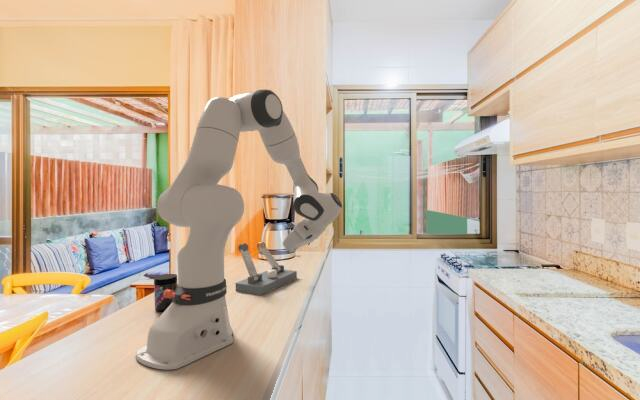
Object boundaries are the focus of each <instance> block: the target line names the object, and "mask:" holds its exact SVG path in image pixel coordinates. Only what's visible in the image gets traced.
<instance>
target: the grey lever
mask: <svg viewBox="0 0 640 400" xmlns="http://www.w3.org/2000/svg"><path fill="white" fill-rule="evenodd" d="M237 248H238V251H239V252H240V254H241V256H242V260H243V262H244V264H245V266H246V267H245V268H246V270H247V272H248V275H249V276H248V277H254V282H256V281H258V280H260V277H259V275H258V274H259V273H258V271H257V269H256V266H255V264H254V261H253V259H252V256H251V254H250V251H249V245H248V244H247V243H246V242H245V243H241V244H239V245H238V247H237Z"/></svg>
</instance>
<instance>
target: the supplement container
mask: <svg viewBox="0 0 640 400" xmlns="http://www.w3.org/2000/svg"><path fill="white" fill-rule="evenodd" d="M177 284H178V274H176V273H165V274H159V275H157V276H155V277H153V288H154V290H153V291H154V310H155V311H156V312H158V313H163V312H164V311H165V310H166V309H167V308H168V307H169V305H170V304H171V303H172V302H173V301H172V299H173V298H171V299H169V298H165V297H163V296H164V295H163V294H164V293H163V292H164V291H165V290H166V289H169V290H173V291H174V292H175V289H176V286H177Z"/></svg>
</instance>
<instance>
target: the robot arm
mask: <svg viewBox="0 0 640 400" xmlns="http://www.w3.org/2000/svg"><path fill="white" fill-rule="evenodd" d="M254 131H258V133H259V135H260V138H261V141H262V143H263V145H264V147H265V150H266V152H267V154H268V155H269V157H270V158H271V159H272V160H273V161H274V163H277V164H282V165H284V166H285V167H286V169H287V172H288V173H289V176H290V178H291V179H292V182H293V187H292V190H293V200H292V202H293V203H292V206H293V210H294V212H295V213H296V214H297V215H299V216H300V217H301V218H303V220H301V221H299V222H298V223H296V224H294V225H293V229H292V230H291V232H289V233H288V235H287V236H286V237H285V239H284V240H283V241H282V246H283V247H284V248H285V250H286V251H288V253H290V254H292V253H294V252H296V250H298V249H299V248H301V247H303V246H305V245H308V244H312V243H313V242H314V241H315V240H317V239H318V238H319V237H320V236H321V235H322V234H323V233H324V232H325V231H326V229H327V227H329V225H331V224H332V223H333V222H334V221H335V220H336V219H337V217H338V216H339V215H340V213H341V212H342V210H343V204H342V201H341V200H340V199H339V197H338V196H337V195H336V194H334V193H333V192H329V193H328V192H327V193H325V192H324V193H322V192H319V186H318V184H317V182H316V181H315V180H314V179H313V178H312V177H311V176H310V175H309V174H308V172H307V170H306V168H305V165H304V163H303V159H302V158H301V151H300V146H299V145H300V144H299V142H298V137H297V136H296V132H295V131H294V128H293V125H292V124H291V122H290V120H289V118H288V115H286V113H285V112H284V109H283V104H282V101H281V100H280V97H279V96H278V95H277V94H276V93H275V92H274V91H272V89H271V90H270V89H258V90H256V91H248V92H242V93H239V94H236V95H233V96H232V97H228V98H227V97H223V96H217V97H213V98H211V99H210V100H208V101H207V103H206V105H205V107H204V108H203V111H202V113H201V115H200V118H199V120H198V123H197V127H196V130H195V134H194V135H193V141H192V144H191V147H190V150H189V153H188V156H187V158H186V161H185V163H184V164H183V167H182V168H181V170H180V171H179V173H178V174H177V176H176V177H175V179H174V180H173V181H172V183H171V185H169V187H168V188H167V189H166V190H164V191H163V192H162V193H160V195H159V197H158V199H157V201H156V202H157V203H156V209H157V210H156V211H157V213H158V215H159V217H160V218H161V219H162V220H163V221H165V222H166V223H168V224H171V225H173V226H175V227H180V228H189V234H188V237H187V241H186V243H185V245H184V246H183V247H182V248H181V249H180V250H179V251H178V254H177V286H176V289H175V292H174V291H173V290H169V289H166V290H165V291H164V292H163V293H164V294H163V295H164V296H163V297H165V298H169V299H171V298H173V299H172V301H173V302H172V303H171V304H170V305H169V307H168V308H167V309H166V310H165V311H164V312H161V315H159V317H158V318H157V319H156V320H155V321H154V322H153V323H152V324H151V326H150V327H149V330H148V333H147V339H146V340H147V341H146V344H145V345H144V346H142V347H140V348H138V349H137V350H136V352H135V353H136V354H135V359H136V360H137V362H139V363H140V364H142V365H144V366H146V367H150V368H153V369H156V370H164V371H165V370H166V371H167V370H169V371H170V370H177V369H180V368H182V367H184V366H186V365H188V364H190V363H193V362H194V361H198V360H199V359H202V358H204V357H205V356H207V355H210V354H212V353H214V352H216V351H218V350H221V349H223V348H225V347H227V346H229V345H232V343H234V339H233V336H232V334H233V329H232V327H231V322H230V318H229V312H228V306H227V299H226V294H227V288H228V287H227V280H226V278H225V251H226V250H225V249H226V244H227V240H228V238H229V235H230V234H231V231H232V230H233V229H234V227H235V226H236V225H237V224H238V223H239V222H240V221H241V220H242V218H243V215H244V212H245V200H244V198H243V195H242V194H241V192H240V191H238V190H237V189H236V188H233V187H230V186H227V185H224V184H219V182H221V180H222V179H223V178H224V177H225V176H226V175H228V174H229V173H230V171H231V170H232V168H233V165H234V161H235V156H236V153H237V149H238V143H239V139H240V134H241V133H244V132H254Z"/></svg>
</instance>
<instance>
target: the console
mask: <svg viewBox="0 0 640 400" xmlns="http://www.w3.org/2000/svg"><path fill="white" fill-rule="evenodd" d="M279 266H281V267H282V271H280V272H278V268H272V267H271V268H270V269H269V270H272V269H274V270H277V278H268V270H266V271H265V270H264V271H262V272H260V273H257V274H258V275H259V277H260V280H258V281H256V282H254V277H250V276H247V278H244V279H243V280H239V281H238V282H235V292H239V293H245V294H252V295H256V296H257V295H258V296H264V295H265V294H267V293H269V292H272V291H274V290H275V289H277V288H279V287H282V286H283V285H287V284H288V283H291V282H292V281H294V280H296V279H297V277H298V275H297V274H298V273H297V272H298V271H297V270H291V269H290V270H289V269H285V265H282V264H279Z"/></svg>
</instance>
